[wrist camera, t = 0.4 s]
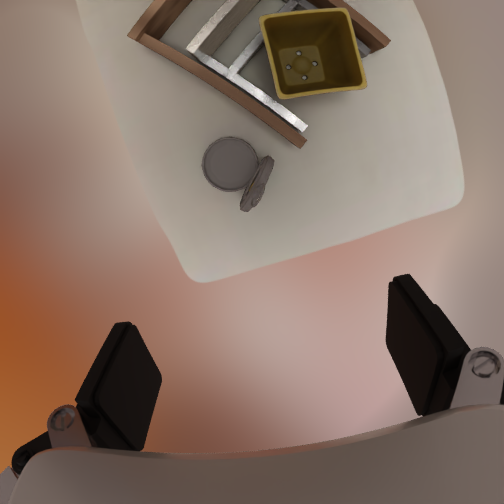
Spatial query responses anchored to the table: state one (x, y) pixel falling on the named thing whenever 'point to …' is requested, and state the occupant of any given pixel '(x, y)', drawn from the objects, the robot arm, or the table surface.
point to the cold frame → (152, 29)
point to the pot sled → (222, 26)
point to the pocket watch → (237, 169)
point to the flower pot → (312, 52)
